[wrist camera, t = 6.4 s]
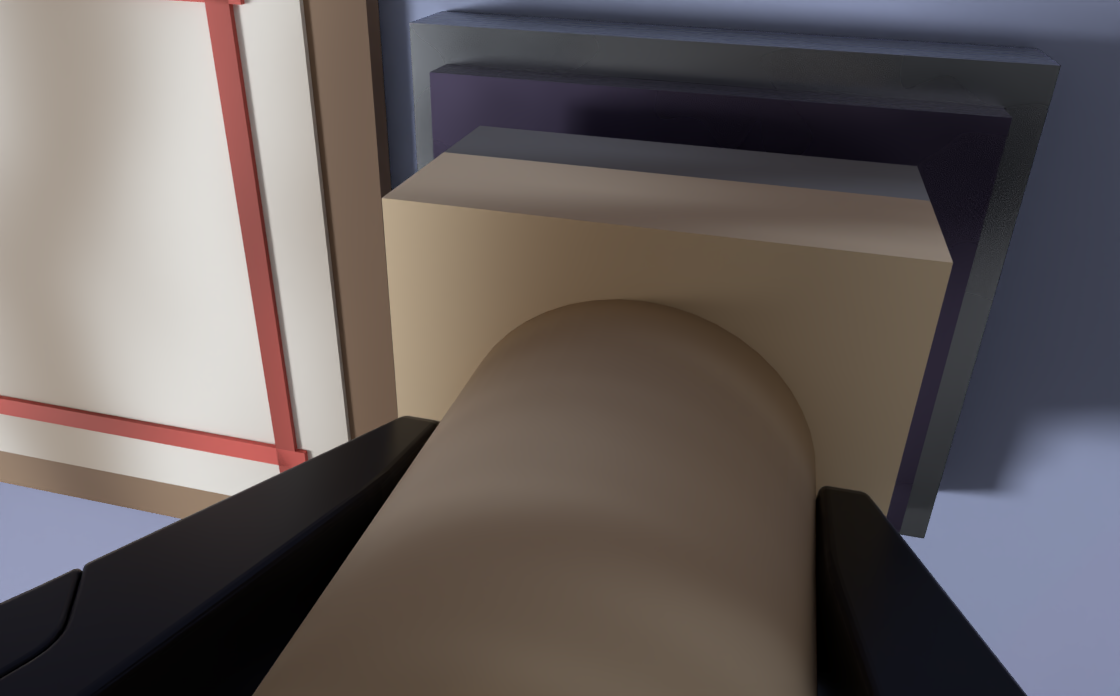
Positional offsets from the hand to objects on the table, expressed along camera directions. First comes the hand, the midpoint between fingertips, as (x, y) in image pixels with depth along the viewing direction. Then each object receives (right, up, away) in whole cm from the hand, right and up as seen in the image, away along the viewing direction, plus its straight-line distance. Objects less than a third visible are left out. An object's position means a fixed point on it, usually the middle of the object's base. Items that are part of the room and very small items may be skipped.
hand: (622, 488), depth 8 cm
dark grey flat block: (+2, +3, +5) cm, 6 cm away
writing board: (-10, +4, +8) cm, 13 cm away
